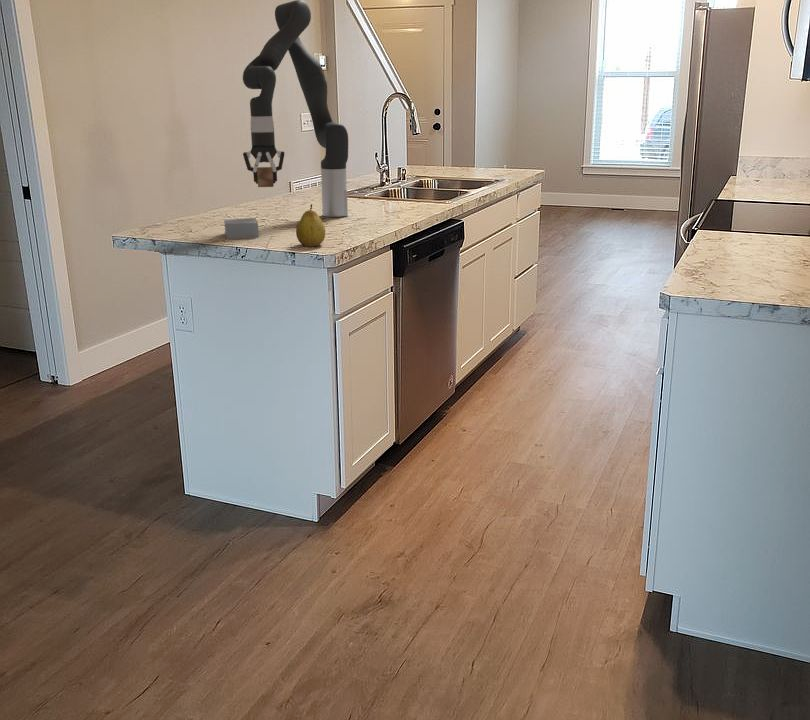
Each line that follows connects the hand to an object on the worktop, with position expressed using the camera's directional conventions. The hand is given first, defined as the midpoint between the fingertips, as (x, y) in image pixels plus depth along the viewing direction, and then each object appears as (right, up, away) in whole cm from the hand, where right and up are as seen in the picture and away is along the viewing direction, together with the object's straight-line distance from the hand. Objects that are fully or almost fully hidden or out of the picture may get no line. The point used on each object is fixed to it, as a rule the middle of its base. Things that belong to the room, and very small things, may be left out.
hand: (265, 183), depth 279 cm
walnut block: (0, -1, 0) cm, 1 cm away
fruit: (+18, -24, -26) cm, 40 cm away
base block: (-6, -19, -8) cm, 22 cm away
